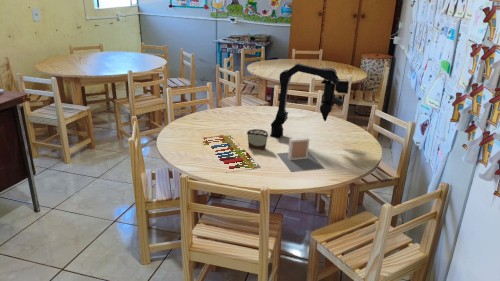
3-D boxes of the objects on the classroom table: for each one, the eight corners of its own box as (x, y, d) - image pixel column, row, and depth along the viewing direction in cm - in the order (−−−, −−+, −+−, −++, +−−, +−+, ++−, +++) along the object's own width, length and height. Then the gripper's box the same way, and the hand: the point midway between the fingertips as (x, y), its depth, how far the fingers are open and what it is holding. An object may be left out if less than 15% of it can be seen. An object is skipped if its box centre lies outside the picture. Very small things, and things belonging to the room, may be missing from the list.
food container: (270, 147, 202) (271, 130, 198) (267, 151, 197) (268, 134, 193) (249, 143, 206) (250, 127, 202) (246, 147, 200) (246, 131, 197)
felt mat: (276, 154, 194) (276, 153, 194) (307, 151, 199) (307, 150, 199) (291, 172, 175) (291, 172, 174) (325, 169, 179) (325, 168, 179)
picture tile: (287, 158, 189) (289, 138, 185) (305, 156, 192) (307, 137, 187) (289, 160, 187) (291, 140, 182) (307, 158, 189) (309, 139, 185)
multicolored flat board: (261, 164, 178) (224, 170, 171) (260, 168, 179) (224, 174, 172) (230, 132, 216) (199, 136, 209) (230, 136, 217) (199, 140, 210)
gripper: (342, 97, 190) (338, 125, 196) (345, 89, 206) (341, 115, 212) (321, 95, 193) (318, 122, 199) (325, 87, 209) (322, 113, 215)
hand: (325, 118), depth 206 cm, fingers open, 9 cm apart
